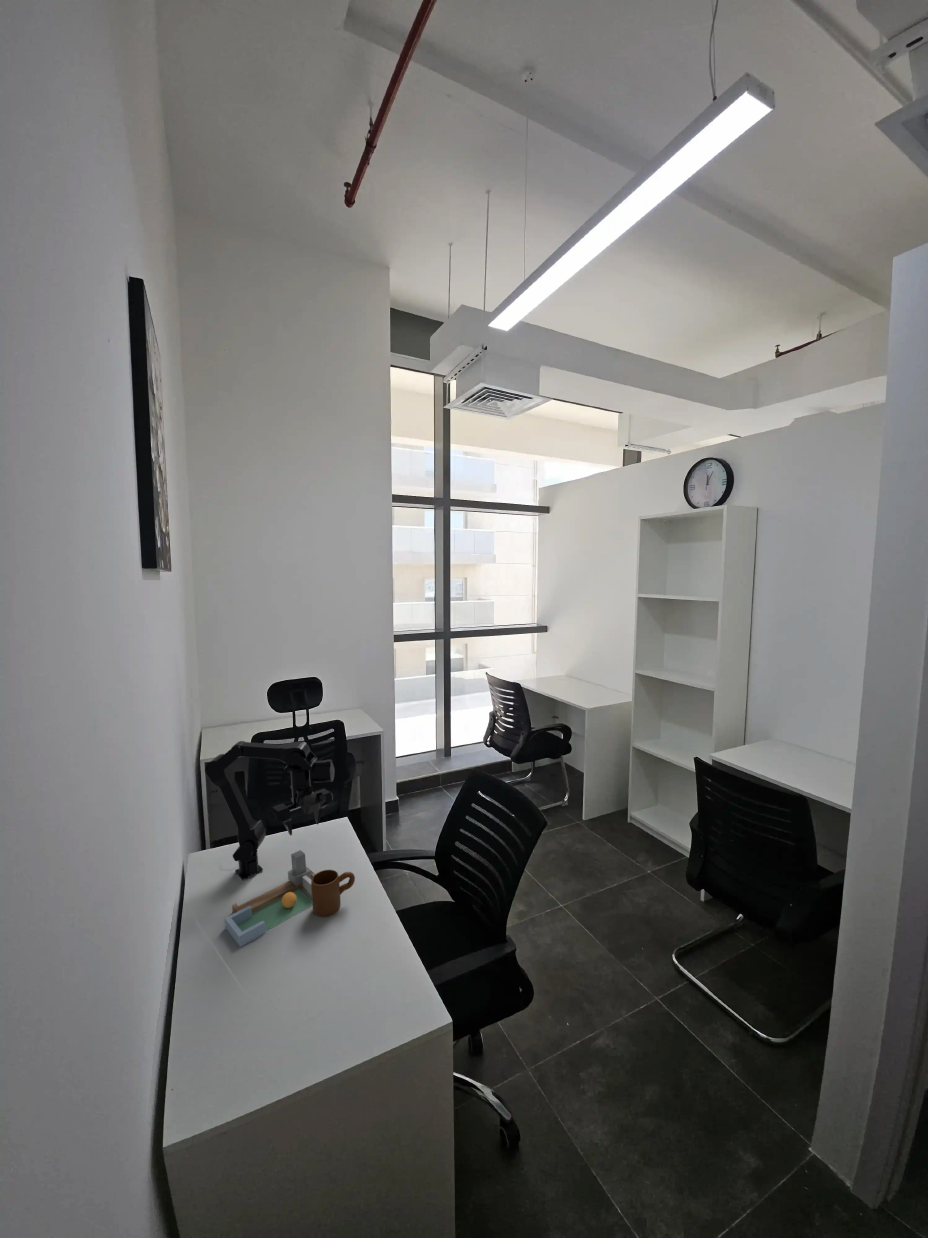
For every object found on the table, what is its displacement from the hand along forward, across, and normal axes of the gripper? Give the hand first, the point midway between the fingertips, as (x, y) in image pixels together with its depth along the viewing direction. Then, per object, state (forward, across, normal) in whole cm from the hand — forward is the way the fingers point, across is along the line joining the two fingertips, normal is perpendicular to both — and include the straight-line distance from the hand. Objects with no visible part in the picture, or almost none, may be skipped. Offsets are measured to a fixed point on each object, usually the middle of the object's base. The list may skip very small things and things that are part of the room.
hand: (304, 829), depth 155 cm
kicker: (+12, -5, -10) cm, 17 cm away
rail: (+13, -13, -7) cm, 20 cm away
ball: (+13, -12, -14) cm, 23 cm away
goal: (+13, -24, -15) cm, 31 cm away
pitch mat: (+13, -17, -14) cm, 26 cm away
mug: (+13, -3, -24) cm, 27 cm away
